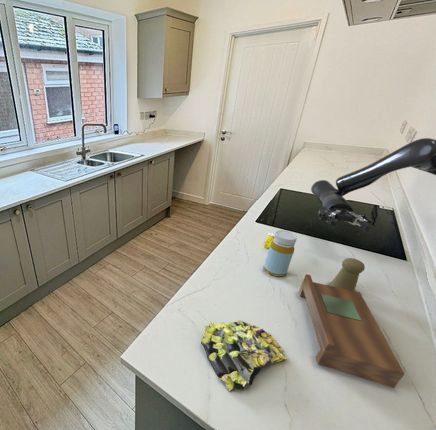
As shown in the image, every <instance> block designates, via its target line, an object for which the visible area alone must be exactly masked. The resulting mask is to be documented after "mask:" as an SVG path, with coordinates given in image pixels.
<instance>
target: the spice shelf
mask: <svg viewBox="0 0 436 430" xmlns="http://www.w3.org/2000/svg"><path fill="white" fill-rule="evenodd" d="M298 294H299V297H301V298H305V300H306V305H307V308H308V310H309V315H310V318H311V321H312V325H313V328H314V332H315V336H316V338H317V342H318V345H319V350H318V352H317V354H316V356H315V360H316V362H317V365H319V366H323V367H326V368H329V369H332V370H336V371H339V372H341V373H345V374H348V375H352V376H355V377H358V378H362V379H365V380H368V381H371V382H375V383H377V384H381V385H383V386H387V387H390V388H395V387H396V386H397V385H398V383H399V382H400V380H401V379H402V378H403V377H404V375H405V374H406V373H405V372H404V370H403V367H402V365H401V364H400V362H399V360H398V359H397V357H396V355H395V353H394V352H393V350H392V348H391V346H390V344H389V342H388V341H387V339H386V337H385V335H384V333H383V331H382V330H381V328H380V326H379V324H378V322H377V321H376V319H375V317H374V315H373V313H372V311H371V309H370V308H369V306H368V304H367V303H366V301H365V299H364V297H363V295H362V294H361V292H360V291H357V290H355V291H352V290H347V289H343V288H338V287H333V286H330V284H329V285H328V284H324V283H320V282H314V281H313V279H312V275H311V274H308V273H305V275H304V277H303V280H302V282H301V285H300V288H299V291H298Z"/></svg>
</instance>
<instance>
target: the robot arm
mask: <svg viewBox="0 0 436 430" xmlns="http://www.w3.org/2000/svg"><path fill="white" fill-rule="evenodd" d="M407 168H413V169H416V170H419V171H423V172H426V173H428V174H431V175H434V176H436V139H435V138H430V137H424V138H419V139H415V140H413V141H411V142H409V143H407V144H405V145H403V146H401V147H400V148H397V149H396V150H394V151H392V152H391V153H389V154H387V155H385V156H383V157H381V158H378V160H375V161H373V162H372V163H370V164H368V165H366V166H363V167H361V168H359V169H356V170H354V171H351V172H349V173H346V174H343V175H341V176H339V177H337V178H336V179H335V185H336V187H335V186H334V185H333V184H332V183H331V182H330V181H329V180H326V179H321V180H320V179H319V180H317V181H315V182H314V183H313V184H312V185H311V188H310V191H311V193H312V194H313V196H314V197H315V198H316V199H317V200H318V201H319V203H320V205H321V207H319V208H318V211H317V216H318V219H319V221H321V222H324V221H325V222H326V223H327V224H328V225H329V226H330V227H332V228H335V227H336V226H337V224H338V222H344V223H348V224H350V225H352V226H358V227H359V228H360V229H361V231H363V233H368V232H369V231H370V229H371V227H372V224H373V223H374V219H372V217H370V215H368V214H367V213H362V214H357V213H356V212H354V209H353V207H352V205H351V204H350V203H349V201H348V200H347V199H346V198H345V197H344V196H345V195H347V194H349V193H351V192H354V191H357V190H360V189H363V188H366V187H368V186H371V185H373V184H375V183H376V182H377V181H378V180H380V179H381V178H382V177H384V176H386V175H388V174H390V173H393V172H395V171H399V170H403V169H407ZM360 222H361V223H360Z"/></svg>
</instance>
